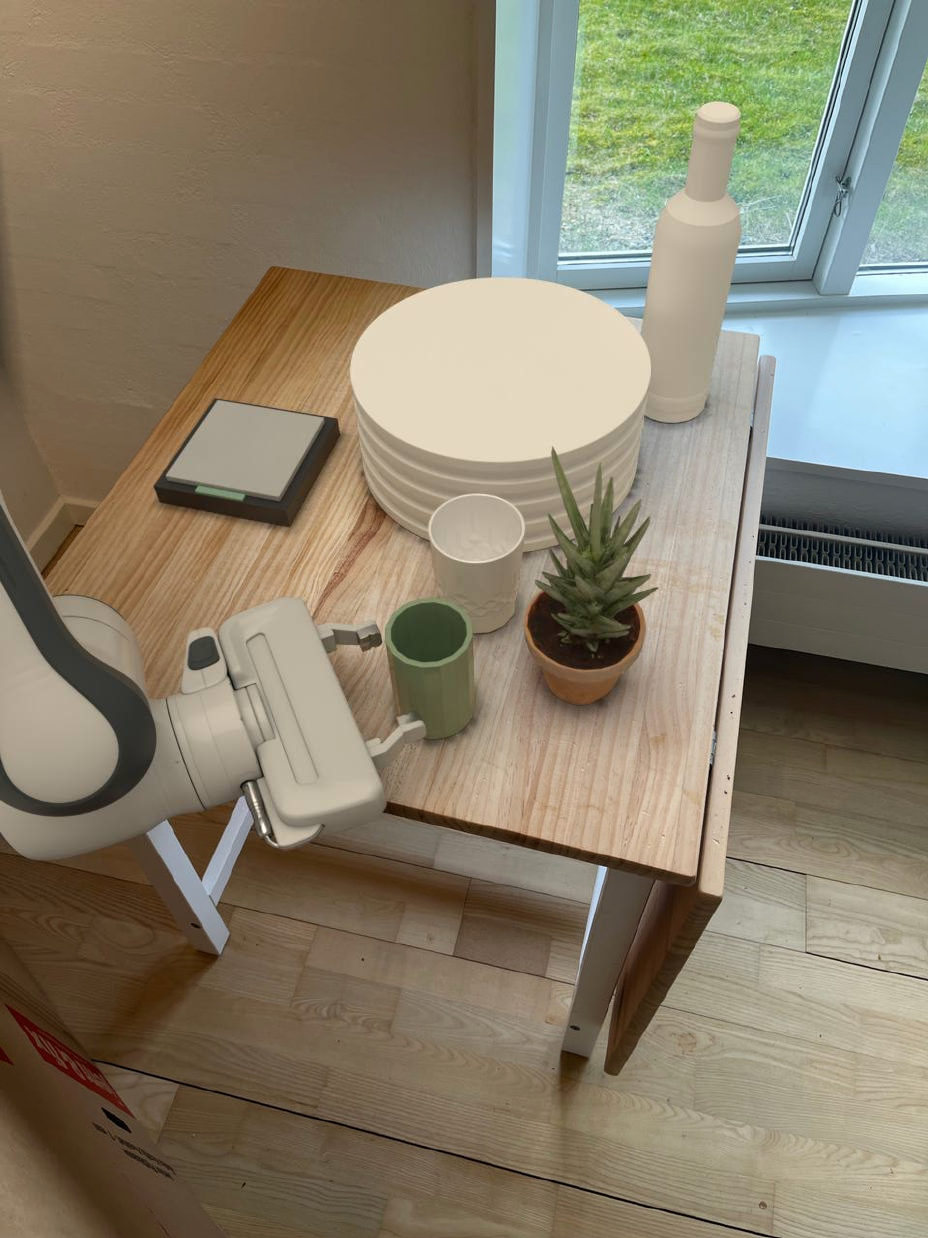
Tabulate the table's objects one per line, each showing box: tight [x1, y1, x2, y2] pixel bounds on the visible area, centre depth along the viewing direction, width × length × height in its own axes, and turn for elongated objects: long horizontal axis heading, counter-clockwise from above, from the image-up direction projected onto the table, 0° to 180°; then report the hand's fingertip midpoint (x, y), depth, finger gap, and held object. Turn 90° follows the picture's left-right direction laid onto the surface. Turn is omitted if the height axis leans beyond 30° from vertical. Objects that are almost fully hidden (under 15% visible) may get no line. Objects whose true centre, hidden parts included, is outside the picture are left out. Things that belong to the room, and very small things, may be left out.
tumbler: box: [384, 597, 476, 740], centre depth 74 cm, size 6×6×10 cm
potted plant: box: [523, 446, 659, 706], centre depth 70 cm, size 10×10×25 cm
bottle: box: [640, 101, 743, 424], centre depth 90 cm, size 8×8×30 cm
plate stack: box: [349, 276, 651, 553], centre depth 93 cm, size 28×28×12 cm
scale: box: [153, 397, 341, 528], centre depth 96 cm, size 14×14×3 cm
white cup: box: [428, 493, 525, 634], centre depth 81 cm, size 8×8×10 cm
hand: (400, 675), depth 73 cm, fingers open, 8 cm apart
